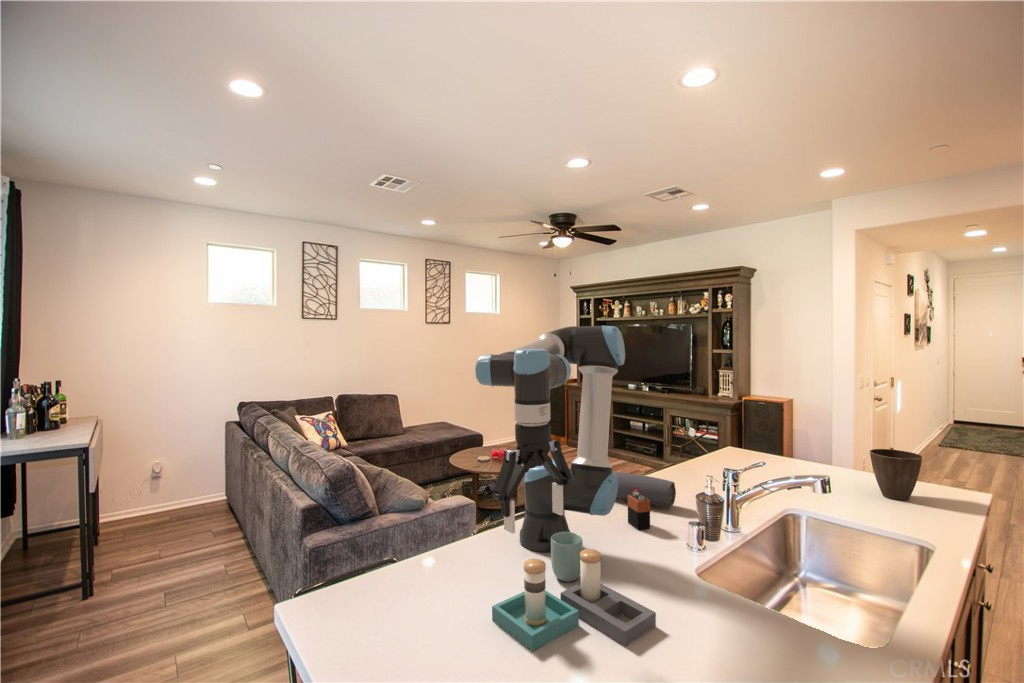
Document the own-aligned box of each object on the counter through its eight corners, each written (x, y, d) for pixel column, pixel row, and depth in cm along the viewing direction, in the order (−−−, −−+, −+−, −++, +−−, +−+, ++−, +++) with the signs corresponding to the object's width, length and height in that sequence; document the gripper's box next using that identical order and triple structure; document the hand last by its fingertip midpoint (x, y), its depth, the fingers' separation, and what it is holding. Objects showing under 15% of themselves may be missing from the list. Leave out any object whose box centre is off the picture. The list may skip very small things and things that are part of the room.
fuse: (576, 606, 107) (575, 553, 107) (590, 598, 110) (589, 547, 110) (591, 615, 104) (591, 560, 103) (605, 607, 106) (605, 554, 106)
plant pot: (859, 491, 180) (859, 449, 180) (895, 489, 182) (895, 447, 181) (895, 505, 165) (895, 459, 165) (933, 503, 167) (934, 458, 167)
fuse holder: (560, 606, 107) (560, 592, 107) (590, 590, 113) (590, 578, 113) (625, 646, 93) (625, 631, 93) (655, 626, 99) (655, 612, 99)
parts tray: (492, 620, 102) (492, 606, 102) (537, 598, 110) (537, 585, 110) (532, 651, 92) (531, 635, 92) (578, 625, 100) (578, 610, 100)
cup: (562, 588, 114) (562, 547, 114) (545, 574, 121) (545, 535, 121) (588, 580, 118) (588, 540, 118) (570, 567, 125) (570, 529, 125)
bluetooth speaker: (605, 501, 173) (605, 473, 173) (615, 493, 181) (615, 467, 181) (668, 513, 160) (668, 484, 160) (676, 505, 168) (676, 477, 168)
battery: (639, 521, 155) (638, 490, 154) (650, 529, 148) (650, 497, 148) (627, 522, 153) (626, 491, 153) (638, 531, 147) (638, 498, 147)
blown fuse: (520, 619, 101) (519, 563, 101) (536, 611, 104) (535, 556, 104) (534, 629, 98) (533, 571, 98) (550, 620, 101) (550, 564, 100)
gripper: (495, 435, 90) (498, 546, 90) (586, 416, 105) (588, 511, 106) (473, 428, 95) (476, 532, 96) (562, 412, 111) (564, 502, 112)
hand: (534, 522), depth 101 cm, fingers open, 13 cm apart
